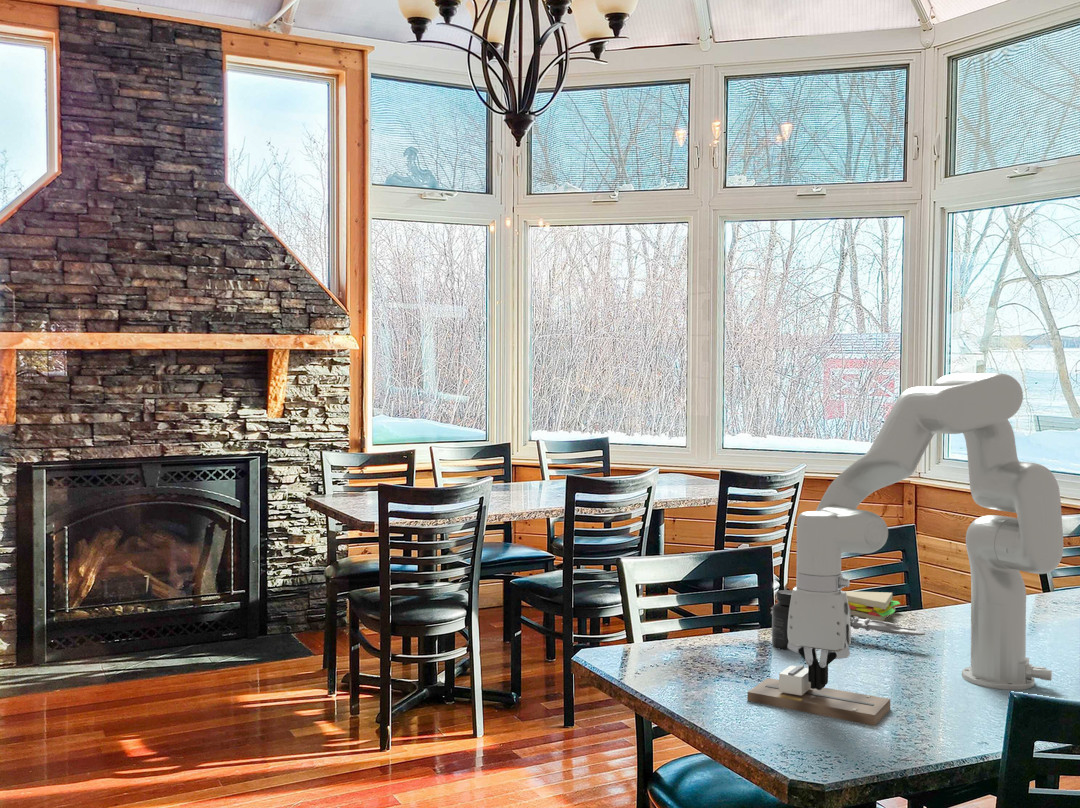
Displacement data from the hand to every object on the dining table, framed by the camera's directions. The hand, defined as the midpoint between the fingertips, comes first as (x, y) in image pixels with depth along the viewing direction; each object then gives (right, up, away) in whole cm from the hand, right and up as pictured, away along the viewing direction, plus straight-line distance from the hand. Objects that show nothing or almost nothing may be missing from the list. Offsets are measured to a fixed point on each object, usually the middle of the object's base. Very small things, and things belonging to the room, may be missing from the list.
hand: (818, 687), depth 169 cm
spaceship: (+19, -3, +47) cm, 50 cm away
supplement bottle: (+5, -3, +39) cm, 39 cm away
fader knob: (-3, -1, +2) cm, 4 cm away
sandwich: (+31, -3, +72) cm, 79 cm away
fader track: (0, -3, 0) cm, 3 cm away
